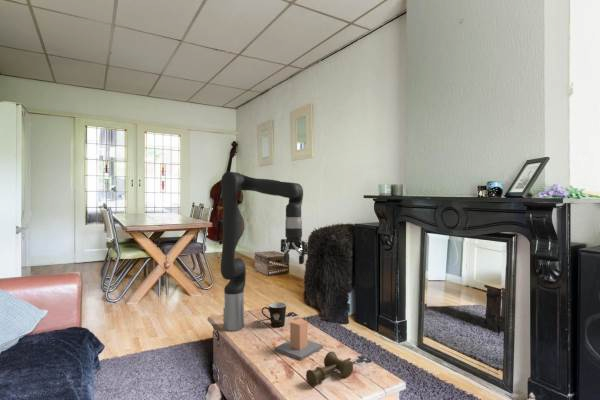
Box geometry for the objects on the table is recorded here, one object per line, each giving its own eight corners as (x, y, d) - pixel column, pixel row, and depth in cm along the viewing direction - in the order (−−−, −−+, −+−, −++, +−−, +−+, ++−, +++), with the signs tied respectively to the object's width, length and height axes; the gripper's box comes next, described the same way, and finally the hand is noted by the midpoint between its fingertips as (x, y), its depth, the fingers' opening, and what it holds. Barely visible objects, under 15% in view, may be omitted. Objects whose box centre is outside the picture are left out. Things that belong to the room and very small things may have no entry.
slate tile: (274, 350, 138) (274, 347, 138) (297, 339, 148) (297, 336, 148) (301, 360, 129) (301, 357, 129) (322, 347, 139) (322, 345, 139)
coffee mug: (290, 324, 167) (289, 304, 167) (279, 329, 160) (279, 308, 160) (271, 320, 173) (271, 300, 173) (260, 325, 166) (260, 305, 166)
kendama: (300, 381, 115) (341, 361, 127) (319, 394, 107) (361, 371, 120) (300, 364, 114) (340, 345, 127) (319, 375, 107) (360, 355, 120)
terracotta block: (290, 346, 138) (290, 322, 138) (298, 342, 142) (297, 318, 142) (299, 349, 135) (299, 324, 135) (307, 345, 139) (307, 321, 139)
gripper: (276, 226, 154) (276, 262, 154) (300, 228, 145) (300, 266, 145) (287, 225, 160) (287, 260, 160) (311, 227, 151) (311, 263, 150)
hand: (294, 262), depth 152 cm, fingers open, 8 cm apart
